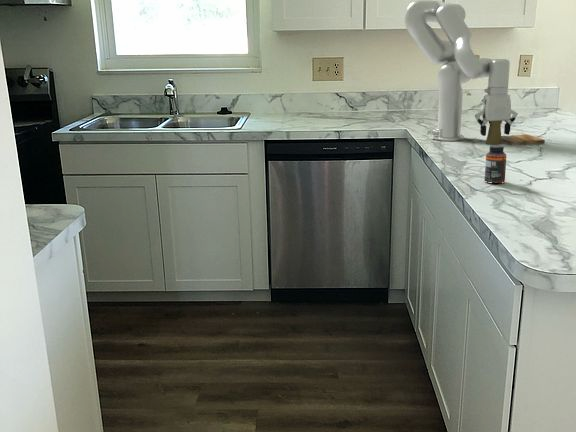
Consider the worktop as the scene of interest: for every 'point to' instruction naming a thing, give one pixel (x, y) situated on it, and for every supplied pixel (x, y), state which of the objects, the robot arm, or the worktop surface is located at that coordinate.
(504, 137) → the board
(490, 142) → the cork
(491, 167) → the supplement bottle
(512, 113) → the robot arm
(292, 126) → the worktop surface
